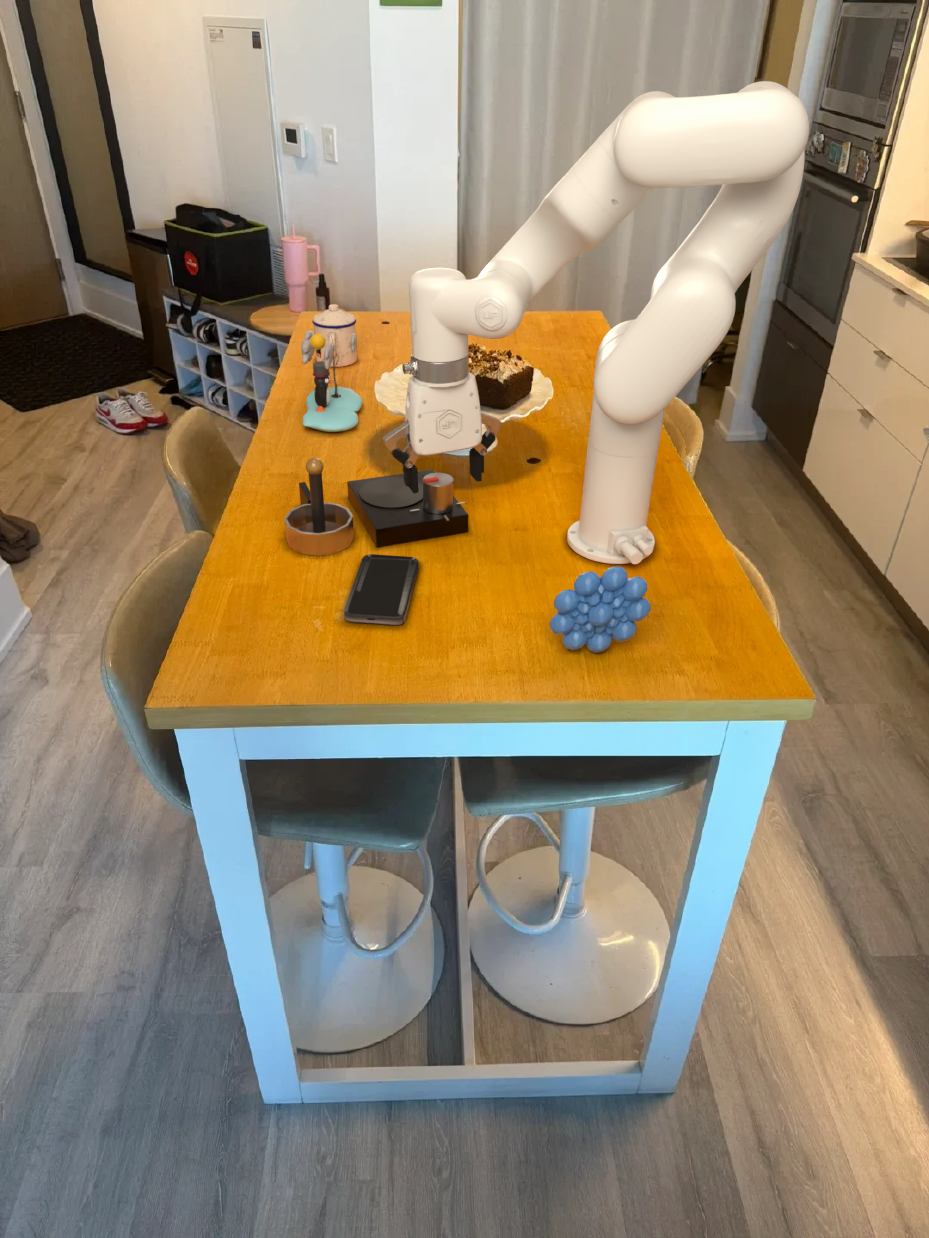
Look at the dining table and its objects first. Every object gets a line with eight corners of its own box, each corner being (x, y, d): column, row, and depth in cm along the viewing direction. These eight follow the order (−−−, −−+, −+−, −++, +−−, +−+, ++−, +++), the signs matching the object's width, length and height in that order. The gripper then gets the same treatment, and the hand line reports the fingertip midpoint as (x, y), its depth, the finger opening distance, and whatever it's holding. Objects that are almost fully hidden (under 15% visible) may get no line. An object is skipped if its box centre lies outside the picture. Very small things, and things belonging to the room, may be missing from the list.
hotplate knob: (446, 498, 136) (447, 469, 133) (457, 511, 132) (457, 481, 129) (419, 502, 134) (418, 473, 131) (428, 516, 131) (428, 486, 128)
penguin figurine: (356, 437, 161) (352, 353, 152) (296, 436, 160) (288, 351, 152) (365, 396, 177) (362, 317, 169) (310, 395, 177) (304, 316, 168)
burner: (434, 502, 134) (434, 501, 134) (369, 512, 131) (369, 511, 131) (413, 474, 142) (413, 473, 142) (351, 483, 139) (351, 482, 139)
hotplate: (475, 534, 133) (475, 515, 131) (378, 550, 128) (377, 531, 127) (437, 485, 146) (437, 467, 144) (348, 498, 141) (347, 480, 140)
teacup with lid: (317, 353, 197) (313, 298, 190) (359, 354, 197) (357, 299, 191) (311, 372, 187) (307, 315, 181) (355, 373, 188) (352, 316, 181)
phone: (419, 557, 125) (403, 618, 112) (419, 564, 125) (403, 626, 113) (363, 553, 125) (341, 614, 113) (363, 560, 126) (341, 621, 114)
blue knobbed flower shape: (638, 632, 113) (651, 549, 107) (646, 665, 108) (660, 579, 101) (545, 629, 113) (552, 546, 107) (548, 662, 108) (556, 576, 101)
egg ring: (360, 549, 129) (359, 524, 126) (294, 560, 126) (292, 535, 123) (333, 501, 140) (332, 478, 138) (273, 510, 138) (270, 486, 135)
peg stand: (347, 546, 129) (342, 465, 122) (303, 553, 127) (295, 471, 120) (336, 525, 134) (331, 446, 127) (293, 532, 132) (285, 452, 125)
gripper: (387, 385, 116) (395, 505, 125) (511, 367, 121) (509, 484, 130) (370, 367, 122) (379, 483, 131) (490, 351, 127) (490, 463, 136)
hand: (444, 483), depth 131 cm, fingers open, 9 cm apart
